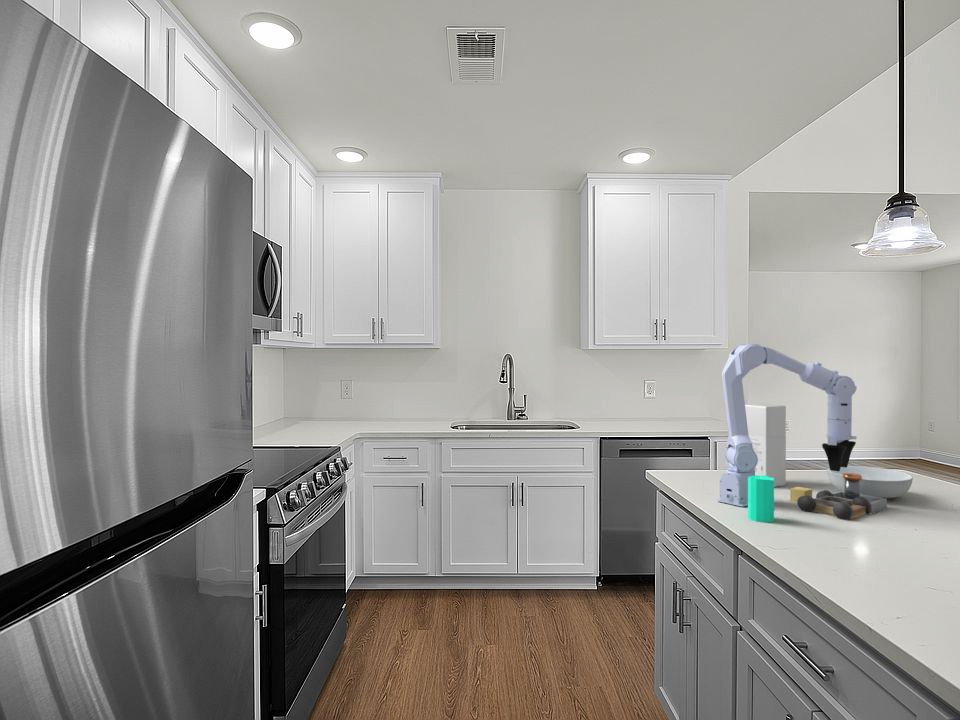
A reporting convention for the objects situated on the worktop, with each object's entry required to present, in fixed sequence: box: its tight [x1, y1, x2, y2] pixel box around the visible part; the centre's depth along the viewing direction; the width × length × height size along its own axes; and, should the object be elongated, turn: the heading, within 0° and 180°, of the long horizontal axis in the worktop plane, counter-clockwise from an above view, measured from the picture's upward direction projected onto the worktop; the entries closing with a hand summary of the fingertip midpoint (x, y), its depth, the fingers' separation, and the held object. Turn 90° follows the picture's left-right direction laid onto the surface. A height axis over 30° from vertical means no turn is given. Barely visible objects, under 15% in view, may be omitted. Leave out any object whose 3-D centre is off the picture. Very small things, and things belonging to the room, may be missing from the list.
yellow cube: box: [789, 486, 813, 503], centre depth 170 cm, size 4×4×4 cm
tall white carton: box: [745, 403, 787, 488], centre depth 191 cm, size 9×9×25 cm
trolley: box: [796, 489, 871, 520], centre depth 158 cm, size 13×11×4 cm
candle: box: [747, 475, 775, 523], centre depth 151 cm, size 6×6×12 cm
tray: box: [831, 490, 888, 515], centre depth 164 cm, size 9×12×2 cm
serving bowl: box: [827, 465, 914, 499], centre depth 176 cm, size 21×21×7 cm
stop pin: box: [843, 473, 862, 500], centre depth 163 cm, size 4×4×8 cm
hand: (838, 468), depth 166 cm, fingers open, 7 cm apart
